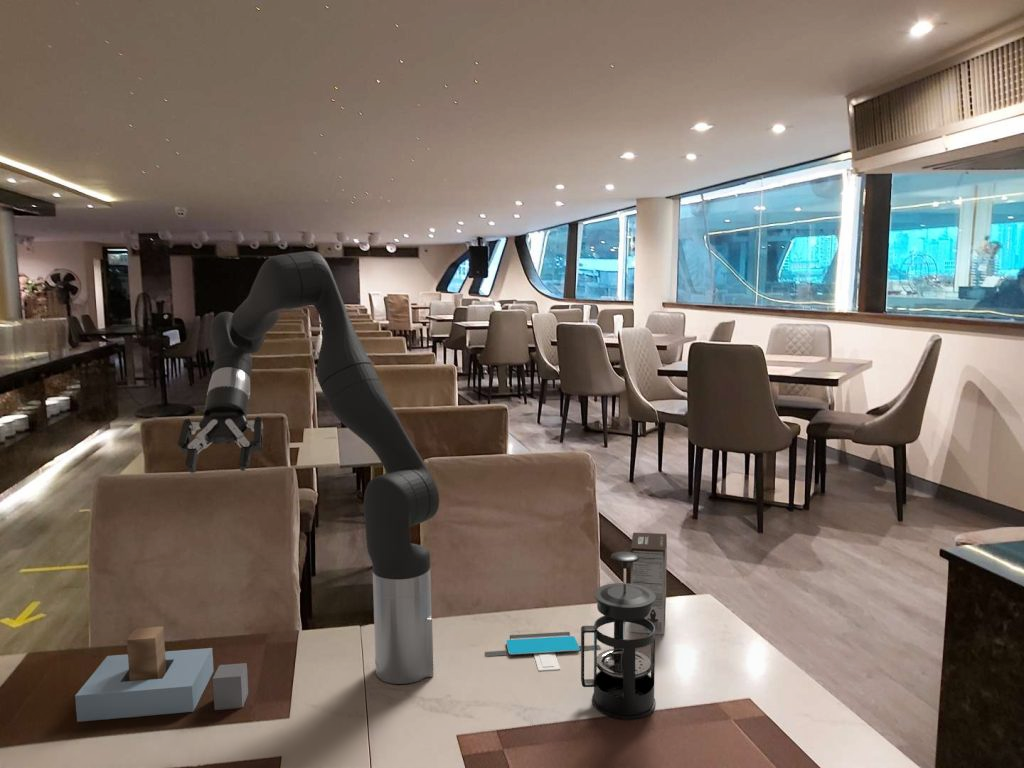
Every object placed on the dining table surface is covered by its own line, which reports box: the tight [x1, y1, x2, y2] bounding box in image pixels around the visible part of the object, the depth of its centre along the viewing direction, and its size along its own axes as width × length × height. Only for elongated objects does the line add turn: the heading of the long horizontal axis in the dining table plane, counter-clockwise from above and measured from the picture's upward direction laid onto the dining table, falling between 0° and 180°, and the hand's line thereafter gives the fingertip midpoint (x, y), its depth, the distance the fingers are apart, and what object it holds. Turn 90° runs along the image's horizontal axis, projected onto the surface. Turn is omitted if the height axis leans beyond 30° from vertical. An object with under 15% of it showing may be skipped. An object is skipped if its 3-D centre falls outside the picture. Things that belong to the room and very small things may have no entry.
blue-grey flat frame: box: [74, 647, 215, 723], centre depth 113 cm, size 16×12×4 cm
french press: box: [580, 551, 657, 721], centre depth 109 cm, size 12×9×23 cm
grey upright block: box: [212, 662, 249, 711], centre depth 111 cm, size 4×4×5 cm
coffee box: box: [629, 532, 668, 636], centre depth 136 cm, size 9×6×16 cm
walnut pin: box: [126, 625, 166, 681], centre depth 113 cm, size 4×4×10 cm
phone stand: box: [484, 631, 602, 672], centre depth 126 cm, size 20×12×2 cm, turn 96°
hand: (217, 469), depth 130 cm, fingers open, 8 cm apart
